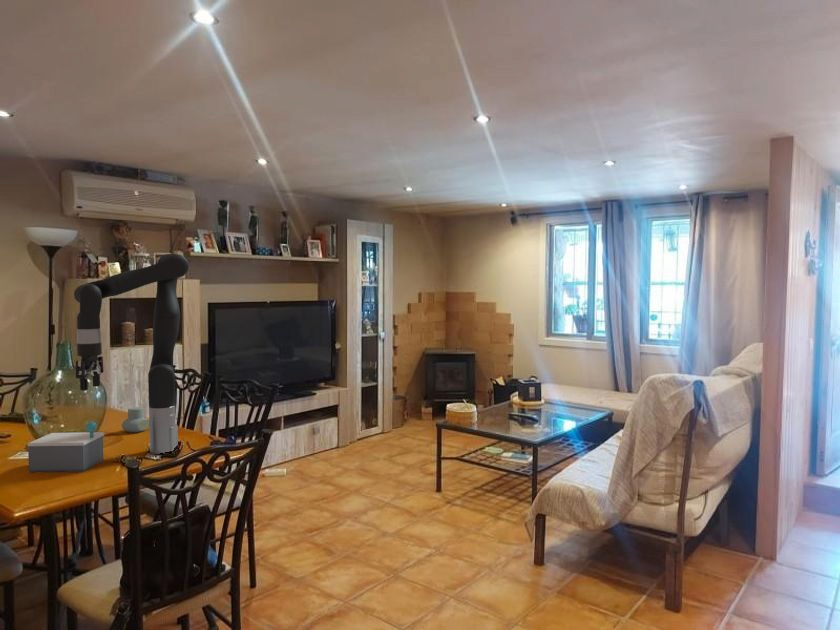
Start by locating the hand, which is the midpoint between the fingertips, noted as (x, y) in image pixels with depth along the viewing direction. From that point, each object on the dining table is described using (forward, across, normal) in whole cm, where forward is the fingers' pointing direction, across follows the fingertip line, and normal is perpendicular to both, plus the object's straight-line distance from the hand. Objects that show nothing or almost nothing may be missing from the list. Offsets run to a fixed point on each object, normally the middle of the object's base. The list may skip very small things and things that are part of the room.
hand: (90, 388), depth 208 cm
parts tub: (+27, 0, +8) cm, 29 cm away
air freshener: (+28, +51, +7) cm, 58 cm away
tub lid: (+18, 0, +8) cm, 20 cm away
